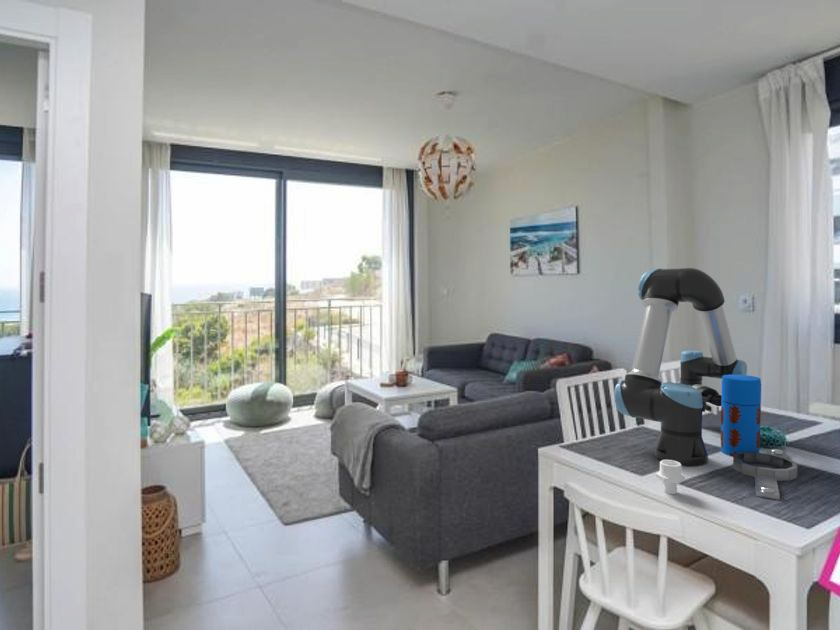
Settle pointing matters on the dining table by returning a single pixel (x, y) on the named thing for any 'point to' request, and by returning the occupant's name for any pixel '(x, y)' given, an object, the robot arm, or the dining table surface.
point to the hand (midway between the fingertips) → (738, 410)
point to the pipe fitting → (670, 475)
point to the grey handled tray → (766, 470)
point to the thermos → (740, 414)
